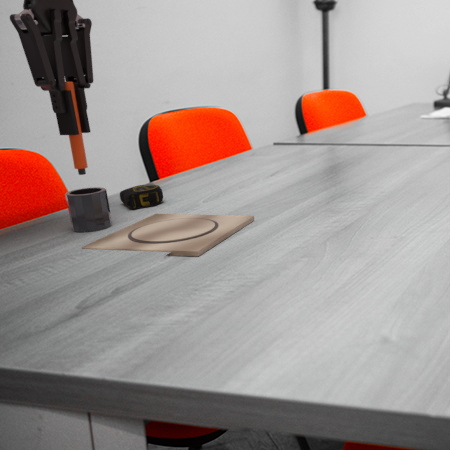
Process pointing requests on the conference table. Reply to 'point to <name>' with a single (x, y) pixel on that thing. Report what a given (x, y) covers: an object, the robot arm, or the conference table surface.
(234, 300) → the conference table surface
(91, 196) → the pen pot
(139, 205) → the tape measure
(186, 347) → the conference table surface
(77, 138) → the marker pen
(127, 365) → the conference table surface
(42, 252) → the conference table surface
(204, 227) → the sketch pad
